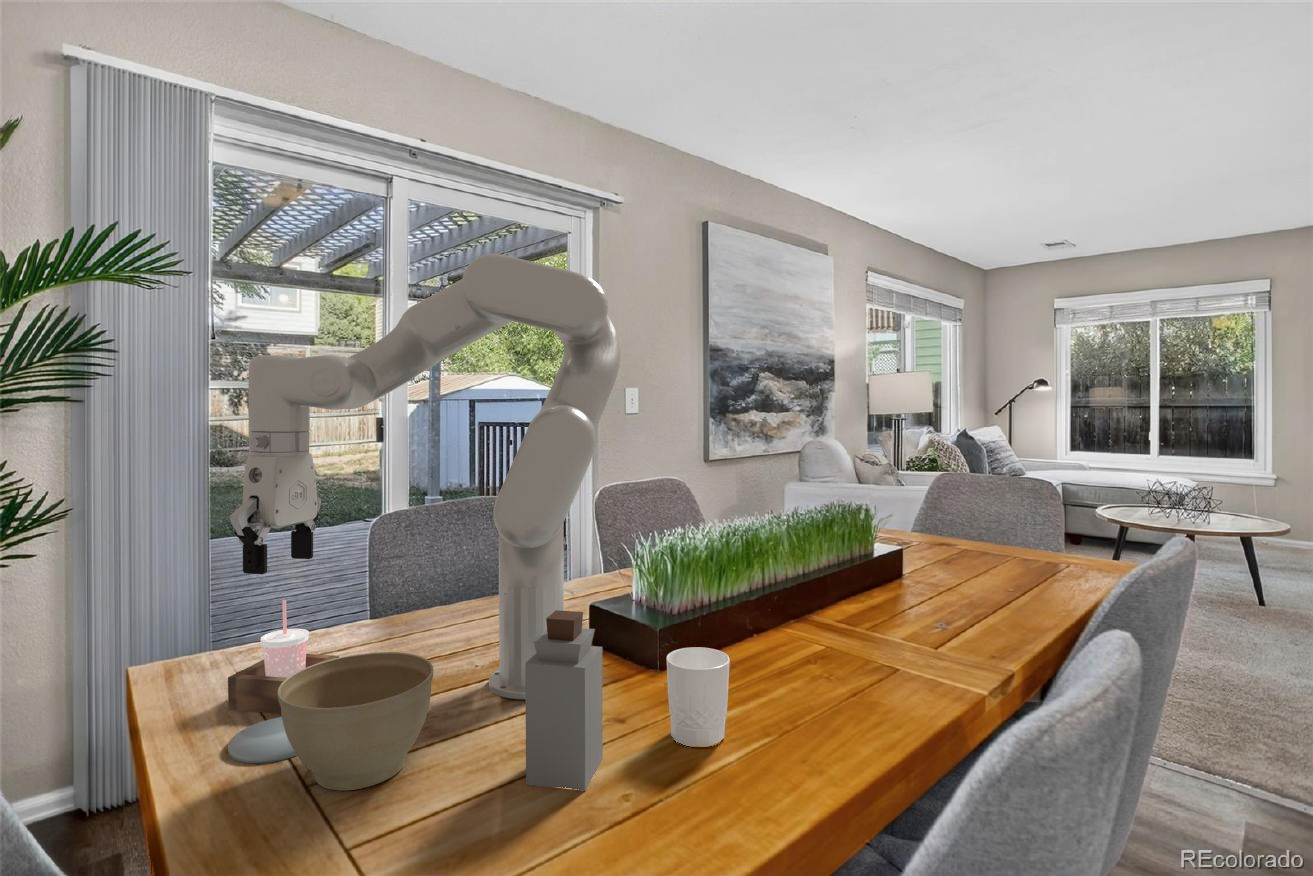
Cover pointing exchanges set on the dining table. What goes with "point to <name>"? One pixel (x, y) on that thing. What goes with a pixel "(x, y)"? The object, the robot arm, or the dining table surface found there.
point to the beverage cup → (284, 650)
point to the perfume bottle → (564, 705)
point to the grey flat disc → (261, 743)
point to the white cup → (698, 695)
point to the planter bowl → (356, 715)
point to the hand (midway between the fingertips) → (279, 565)
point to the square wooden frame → (260, 687)
